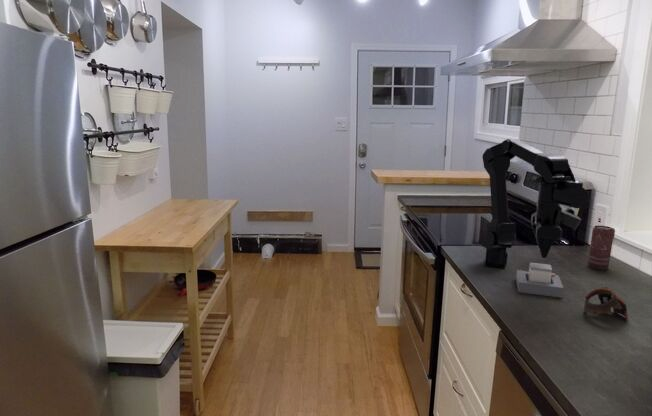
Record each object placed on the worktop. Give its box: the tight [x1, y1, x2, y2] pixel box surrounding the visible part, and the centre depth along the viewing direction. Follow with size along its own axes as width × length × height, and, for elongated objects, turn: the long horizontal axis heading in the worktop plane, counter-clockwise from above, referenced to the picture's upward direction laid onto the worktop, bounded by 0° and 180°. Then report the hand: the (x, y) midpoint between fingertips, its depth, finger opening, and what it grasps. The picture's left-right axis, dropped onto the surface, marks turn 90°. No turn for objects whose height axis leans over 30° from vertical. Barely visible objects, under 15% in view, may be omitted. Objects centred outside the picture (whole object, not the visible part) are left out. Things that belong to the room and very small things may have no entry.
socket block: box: [515, 269, 565, 299], centre depth 135 cm, size 12×10×4 cm
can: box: [587, 225, 616, 271], centre depth 152 cm, size 6×6×14 cm
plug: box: [528, 262, 553, 284], centre depth 134 cm, size 6×4×7 cm
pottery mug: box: [583, 286, 629, 323], centre depth 118 cm, size 12×10×8 cm
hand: (542, 252), depth 133 cm, fingers open, 9 cm apart
